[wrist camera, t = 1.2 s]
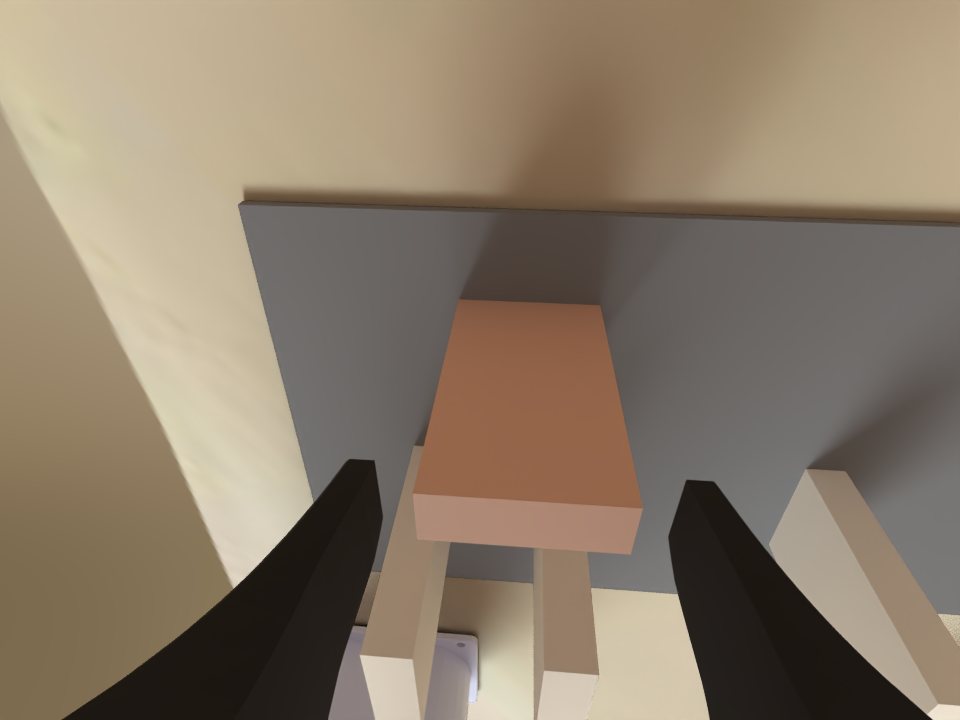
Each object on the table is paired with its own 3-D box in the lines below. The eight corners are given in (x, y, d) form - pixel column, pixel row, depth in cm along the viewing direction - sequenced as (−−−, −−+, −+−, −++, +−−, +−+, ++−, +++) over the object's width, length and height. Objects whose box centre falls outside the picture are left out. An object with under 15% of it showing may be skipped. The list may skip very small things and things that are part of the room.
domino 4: (768, 544, 25) (865, 773, 18) (805, 468, 23) (938, 704, 15) (804, 546, 25) (915, 777, 18) (845, 471, 22) (998, 709, 15)
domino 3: (533, 528, 26) (533, 742, 19) (540, 453, 23) (544, 670, 16) (567, 530, 26) (580, 746, 19) (578, 455, 23) (599, 675, 16)
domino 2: (594, 343, 20) (630, 554, 13) (459, 337, 20) (417, 539, 13) (600, 305, 19) (642, 508, 12) (458, 299, 19) (412, 493, 12)
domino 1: (420, 520, 26) (377, 727, 19) (413, 445, 24) (359, 654, 16) (453, 522, 26) (422, 731, 19) (450, 447, 24) (412, 659, 16)
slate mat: (332, 561, 30) (330, 568, 29) (243, 201, 18) (237, 205, 18) (988, 610, 27) (993, 617, 27) (1350, 234, 16) (1367, 239, 16)
